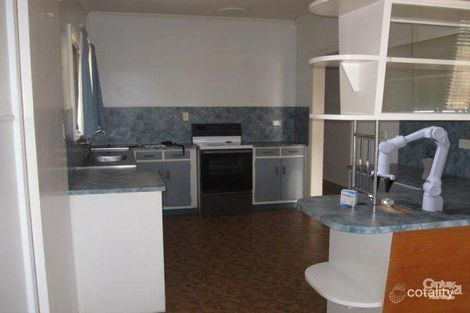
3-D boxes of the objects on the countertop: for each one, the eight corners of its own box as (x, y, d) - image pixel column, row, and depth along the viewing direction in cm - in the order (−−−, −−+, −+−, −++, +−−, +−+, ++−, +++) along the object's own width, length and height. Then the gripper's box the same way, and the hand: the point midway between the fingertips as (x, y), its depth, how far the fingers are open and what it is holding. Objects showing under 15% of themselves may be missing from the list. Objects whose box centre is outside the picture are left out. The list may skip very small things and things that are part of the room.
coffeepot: (419, 179, 302) (421, 155, 299) (418, 177, 311) (420, 154, 308) (442, 181, 297) (444, 157, 294) (440, 179, 305) (443, 155, 303)
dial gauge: (371, 206, 215) (372, 193, 214) (376, 208, 212) (377, 195, 211) (365, 207, 214) (366, 194, 213) (370, 209, 210) (372, 195, 209)
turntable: (394, 205, 219) (394, 203, 219) (421, 214, 203) (421, 211, 203) (368, 208, 212) (368, 205, 212) (394, 217, 196) (394, 214, 195)
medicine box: (339, 205, 215) (341, 190, 213) (342, 204, 218) (343, 188, 217) (354, 208, 210) (355, 192, 209) (357, 206, 214) (358, 190, 213)
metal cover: (387, 204, 216) (388, 196, 215) (395, 207, 210) (396, 199, 210) (378, 205, 213) (379, 197, 213) (387, 207, 208) (387, 200, 207)
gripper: (367, 163, 213) (365, 188, 215) (388, 167, 200) (386, 194, 202) (378, 162, 216) (375, 187, 218) (399, 167, 203) (396, 193, 205)
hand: (381, 190), depth 210 cm, fingers open, 7 cm apart
